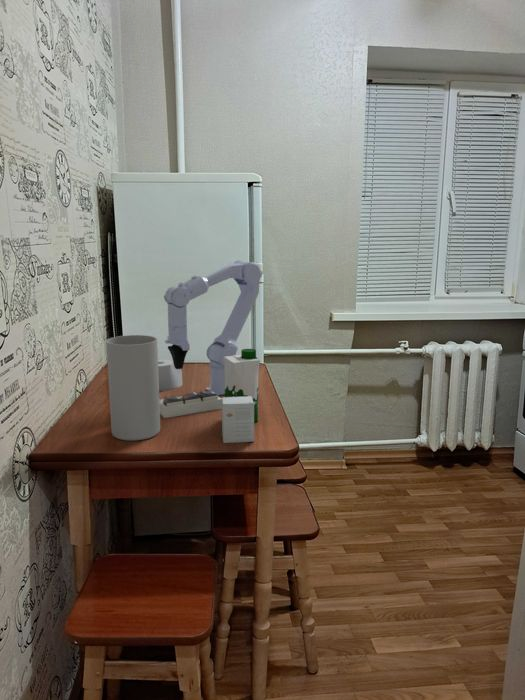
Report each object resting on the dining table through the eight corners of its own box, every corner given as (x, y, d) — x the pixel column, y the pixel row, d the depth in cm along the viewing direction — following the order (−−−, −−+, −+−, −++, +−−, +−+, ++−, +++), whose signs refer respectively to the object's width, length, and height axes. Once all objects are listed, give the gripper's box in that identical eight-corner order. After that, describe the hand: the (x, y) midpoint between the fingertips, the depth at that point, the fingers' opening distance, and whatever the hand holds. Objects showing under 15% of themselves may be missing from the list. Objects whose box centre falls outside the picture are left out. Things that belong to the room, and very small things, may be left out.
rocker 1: (178, 401, 152) (178, 396, 152) (181, 403, 150) (182, 399, 150) (163, 400, 150) (164, 395, 150) (166, 403, 148) (167, 398, 147)
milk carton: (262, 422, 144) (262, 352, 140) (231, 426, 141) (231, 355, 137) (250, 412, 152) (250, 346, 148) (221, 416, 149) (220, 348, 144)
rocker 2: (196, 395, 155) (195, 391, 154) (199, 398, 152) (198, 393, 152) (182, 400, 153) (181, 396, 152) (186, 403, 151) (185, 398, 150)
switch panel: (223, 399, 164) (223, 387, 163) (234, 406, 157) (234, 393, 157) (155, 409, 154) (155, 397, 153) (164, 418, 147) (163, 404, 146)
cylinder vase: (162, 439, 132) (159, 343, 127) (112, 444, 129) (106, 346, 123) (158, 422, 144) (154, 334, 138) (111, 426, 140) (106, 336, 135)
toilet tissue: (188, 385, 179) (187, 361, 177) (155, 392, 170) (154, 367, 168) (173, 379, 185) (173, 356, 184) (140, 386, 177) (139, 362, 175)
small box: (252, 433, 136) (252, 395, 134) (254, 442, 131) (254, 402, 129) (221, 435, 135) (221, 396, 133) (222, 443, 130) (222, 403, 128)
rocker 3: (212, 396, 157) (213, 391, 157) (216, 398, 155) (217, 393, 155) (199, 395, 155) (200, 390, 155) (202, 397, 153) (203, 392, 153)
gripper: (157, 323, 164) (159, 364, 167) (173, 330, 151) (174, 375, 154) (179, 321, 167) (180, 362, 170) (195, 328, 155) (196, 372, 158)
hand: (178, 368), depth 162 cm, fingers closed
